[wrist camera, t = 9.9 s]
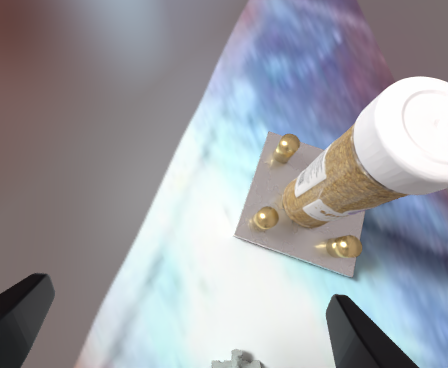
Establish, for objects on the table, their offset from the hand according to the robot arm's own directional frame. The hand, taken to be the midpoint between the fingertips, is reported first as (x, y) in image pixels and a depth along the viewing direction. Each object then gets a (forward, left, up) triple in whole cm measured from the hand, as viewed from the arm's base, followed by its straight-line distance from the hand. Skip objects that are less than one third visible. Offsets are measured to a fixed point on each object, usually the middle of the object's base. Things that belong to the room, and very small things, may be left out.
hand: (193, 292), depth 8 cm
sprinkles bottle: (+8, -6, -13) cm, 17 cm away
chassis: (+9, -6, -14) cm, 17 cm away
